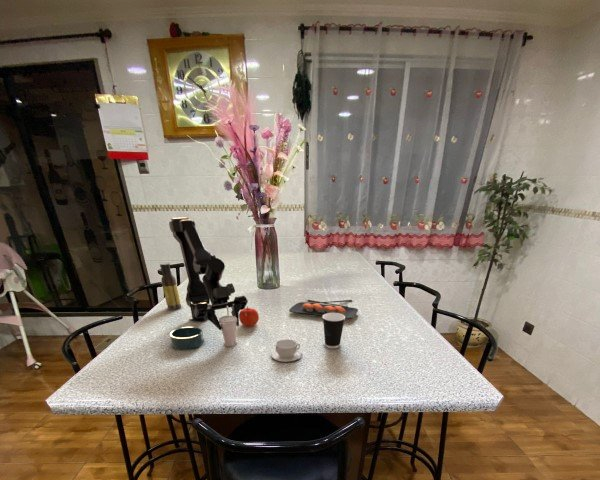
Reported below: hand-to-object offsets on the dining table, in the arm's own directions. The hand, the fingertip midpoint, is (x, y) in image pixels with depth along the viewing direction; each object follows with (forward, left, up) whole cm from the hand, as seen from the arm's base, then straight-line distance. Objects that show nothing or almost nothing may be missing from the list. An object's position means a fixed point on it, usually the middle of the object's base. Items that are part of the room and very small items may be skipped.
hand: (229, 327), depth 127 cm
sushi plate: (+20, +52, -7) cm, 57 cm away
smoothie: (-1, +1, -7) cm, 7 cm away
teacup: (+22, -2, -7) cm, 24 cm away
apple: (-4, +20, -7) cm, 22 cm away
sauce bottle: (-48, +28, -7) cm, 56 cm away
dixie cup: (+34, +12, -7) cm, 37 cm away
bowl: (-16, -5, -7) cm, 18 cm away
